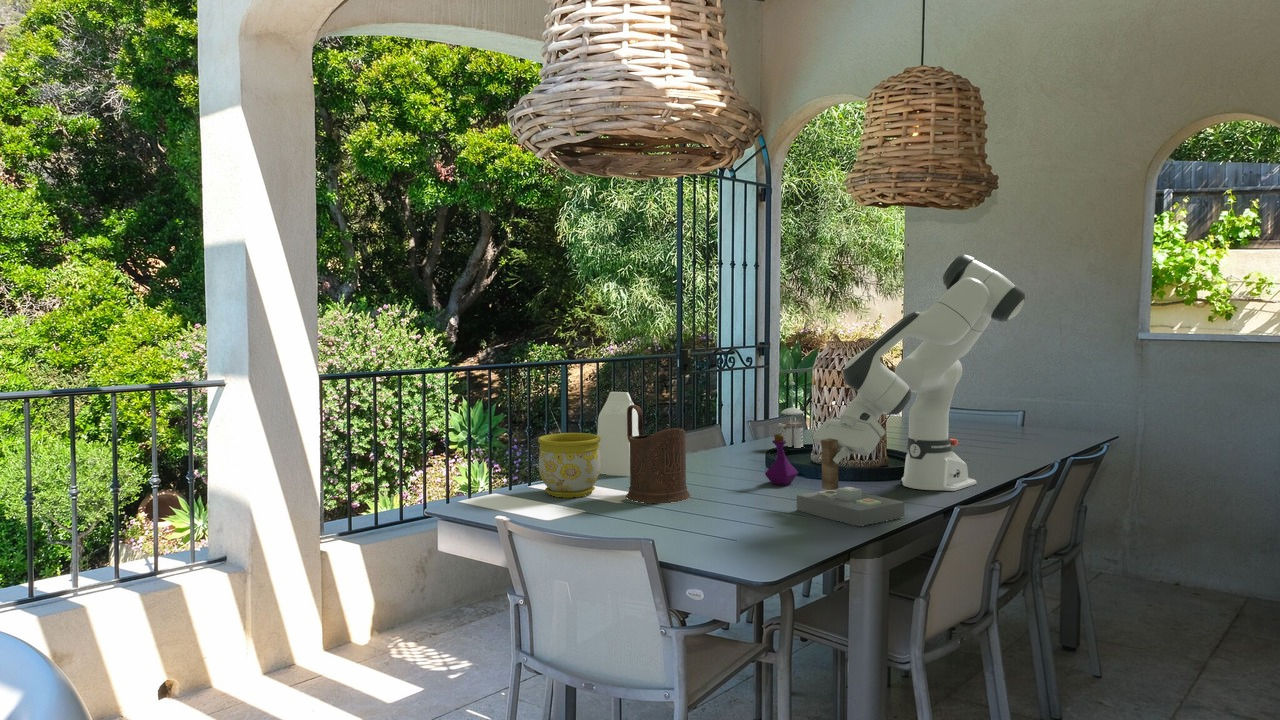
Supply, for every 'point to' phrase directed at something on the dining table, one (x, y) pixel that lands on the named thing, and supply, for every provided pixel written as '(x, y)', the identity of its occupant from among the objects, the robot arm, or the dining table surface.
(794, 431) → the french press
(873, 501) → the key
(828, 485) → the brown wooden bar
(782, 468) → the perfume bottle
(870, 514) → the keypad
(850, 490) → the key mid
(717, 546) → the dining table surface
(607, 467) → the milk
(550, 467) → the flowerpot
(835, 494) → the key
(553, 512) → the dining table surface
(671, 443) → the cup holder
